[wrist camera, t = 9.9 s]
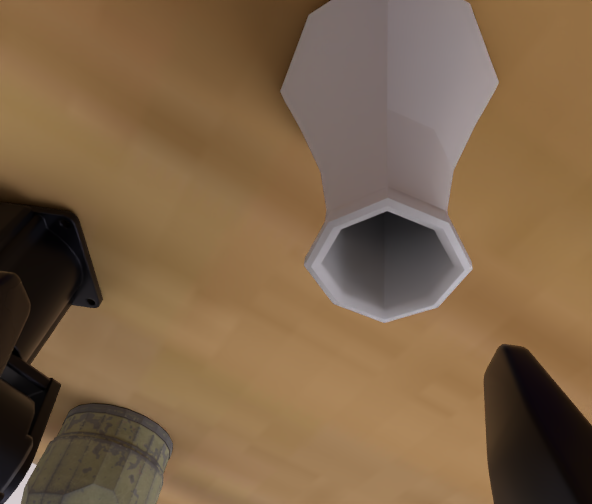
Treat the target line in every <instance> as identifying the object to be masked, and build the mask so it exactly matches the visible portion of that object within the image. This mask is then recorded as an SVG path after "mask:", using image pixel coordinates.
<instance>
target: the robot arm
mask: <svg viewBox="0 0 592 504" xmlns="http://www.w3.org/2000/svg"><path fill="white" fill-rule="evenodd" d="M67 221H68V222H69V223H68V222H67ZM102 300H103V298H102V295H101V291H100V288H99V285H98V281H97V278H96V275H95V271H94V268H93V265H92V261H91V258H90V255H89V251H88V248H87V245H86V242H85V238H84V235H83V232H82V228H81V225H80V222H79V219H78V217H77V216H76V215H75V214H73V213H72V212H69V211H64V210H57V209H49V208H42V207H34V206H27V205H19V204H12V203H4V202H0V504H4V502H6V500H7V499H8V498H9V497H10V496H11V494H12V493H13V492H14V491H15V490H16V488H17V487H18V485H19V483H20V482H21V481H22V480H23V478H24V476H25V475H26V473H27V471H28V470H29V468H30V466H31V464H32V461H33V459H34V457H35V454H36V452H37V449H38V446H39V444H40V441H41V438H42V435H43V433H44V430H45V427H46V425H47V422H48V419H49V417H50V414H51V411H52V409H53V406H54V403H55V401H56V398H57V395H58V392H59V390H60V387H61V384H60V383H59V382H57V381H56V380H54V379H53V378H48V377H46V376H45V375H44V374H42V373H41V372H39V371H38V370H37V369H35V368H34V367H32V366H31V365H30V364H31V363H32V361H33V360H34V358H35V357H36V356H37V354H38V353H39V351H40V350H41V348H42V347H43V345H44V344H45V342H46V341H47V339H48V338H49V337H50V335H51V334H52V332H53V331H54V329H55V328H56V326H57V325H58V323H59V322H60V320H61V319H62V318H63V316H64V315H65V313H66V312H67V310H68V309H69V307H70V306H71V305H76V306H83V307H90V308H97V307H99V305H100V304H101V302H102ZM484 400H485V421H486V443H487V459H488V469H489V476H490V482H491V489H492V495H493V501H494V504H592V425H591V424H590V423H589V422H588V420H587V419H586V418H585V417H584V416H583V414H582V413H581V412H580V411H579V410H578V409H577V407H576V406H575V405H574V404H573V403H572V401H571V400H570V399H569V398H568V397H567V395H566V394H565V393H564V392H563V391H562V390H561V388H560V387H559V386H558V385H557V384H556V382H555V381H554V380H553V379H552V378H551V376H550V375H549V374H548V373H547V372H546V370H545V369H544V368H543V367H542V366H541V365H540V363H539V362H538V361H537V360H536V359H535V357H534V356H533V355H532V354H531V353H530V352H529V350H527V349H526V348H524V347H521V346H515V345H508V344H502V345H501V346H499V348H498V349H497V351H496V353H495V354H494V356H493V358H492V360H491V362H490V364H489V366H488V367H487V369H486V372H485V375H484Z"/></svg>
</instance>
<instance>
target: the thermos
mask: <svg viewBox="0 0 592 504" xmlns="http://www.w3.org/2000/svg"><path fill="white" fill-rule="evenodd" d="M172 449H173V443H172V441H171V439H170V437H169V435H168V434H167V433H166V432H165V431H164V430H163V429H162V428H161V427H160V426H159V425H158V424H156V423H155V422H153V421H151V420H150V419H148V418H146V417H145V416H143V415H140V414H138V413H135V412H133V411H130V410H128V409H124V408H120V407H116V406H112V405H104V404H87V405H80V406H77V407H76V408H74V409H72V410H70V411H69V413H68V415H67V417H66V419H65V421H64V423H63V426H62V428H61V430H60V432H59V433H58V435H57V437H55V438H54V440H53V441H51V442H50V443H49V445H48V446H47V448H46V450H45V452H44V453H43V455H42V457H41V459H40V461H39V462H38V464H37V466H36V468H35V470H34V471H33V473H32V475H31V477H30V478H29V480H28V482H27V484H26V486H25V488H24V492H23V497H22V501H21V504H156V503H157V500H158V497H159V494H160V491H161V488H162V485H163V473H164V470H165V468H166V465H167V462H168V460H169V459H170V456H171V453H172Z"/></svg>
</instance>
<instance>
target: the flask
mask: <svg viewBox="0 0 592 504" xmlns="http://www.w3.org/2000/svg"><path fill="white" fill-rule="evenodd" d="M498 83H499V81H498V79H497V76H496V73H495V70H494V68H493V65H492V62H491V60H490V57H489V54H488V51H487V49H486V46H485V43H484V41H483V38H482V35H481V32H480V30H479V27H478V24H477V21H476V19H475V16H474V13H473V11H472V8H471V5H470V3H468V2H466V1H464V0H331V1H329V2H328V3H326V4H325V5H323V6H321V7H320V8H318V9H317V10H315V11H314V12H312V13H311V14H309V15H308V18H307V21H306V24H305V26H304V29H303V32H302V34H301V37H300V40H299V42H298V45H297V48H296V50H295V53H294V56H293V59H292V61H291V64H290V67H289V69H288V72H287V75H286V77H285V80H284V83H283V85H282V88H281V91H280V92H281V94H282V96H283V98H284V101H285V103H286V104H287V106H288V108H289V110H290V111H291V113H292V115H293V117H294V118H295V120H296V122H297V124H298V126H299V127H300V129H301V131H302V133H303V135H304V137H305V140H306V142H307V144H308V146H309V148H310V150H311V152H312V155H313V157H314V159H315V161H316V163H317V165H318V167H319V170H320V172H321V177H322V184H323V190H324V197H325V203H326V209H327V211H326V218H325V223H324V224H323V226H322V228H321V230H320V232H319V234H318V235H317V237H316V239H315V241H314V243H313V245H312V246H311V248H310V250H309V252H308V254H307V256H306V257H305V262H304V266H305V267H306V269H307V270H308V271H309V273H310V274H311V275H312V276H313V278H314V279H315V280H316V282H317V283H318V284H319V286H320V287H321V288H322V290H323V291H324V292H325V293H326V295H327V296H328V297H329V299H330V300H331V301H332V303H333V304H335V305H338V306H341V307H343V308H346V309H349V310H351V311H354V312H357V313H359V314H362V315H365V316H367V317H370V318H373V319H375V320H378V321H381V322H383V323H385V322H389V321H392V320H396V319H399V318H403V317H406V316H410V315H413V314H417V313H420V312H423V311H427V310H430V309H434V308H437V307H439V306H440V304H441V303H442V302H443V301H444V300H445V299H446V298H447V297H448V296H449V294H450V293H451V292H452V291H453V290H454V289H455V288H456V287H457V286H458V284H459V283H460V282H461V281H462V280H463V279H464V278H465V277H466V276H467V274H468V273H469V272H470V271H471V270H472V262H471V260H470V258H469V256H468V254H467V252H466V250H465V248H464V246H463V244H462V242H461V240H460V238H459V236H458V234H457V232H456V230H455V228H454V226H453V224H452V222H451V220H450V218H449V216H448V212H447V208H448V202H449V196H450V190H451V183H452V177H453V171H454V168H455V166H456V164H457V162H458V160H459V158H460V156H461V154H462V152H463V150H464V148H465V145H466V143H467V141H468V139H469V137H470V135H471V133H472V131H473V129H474V127H475V125H476V123H477V121H478V119H479V118H480V116H481V114H482V113H483V111H484V109H485V107H486V106H487V104H488V102H489V100H490V99H491V97H492V95H493V93H494V91H495V89H496V87H497V85H498Z"/></svg>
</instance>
